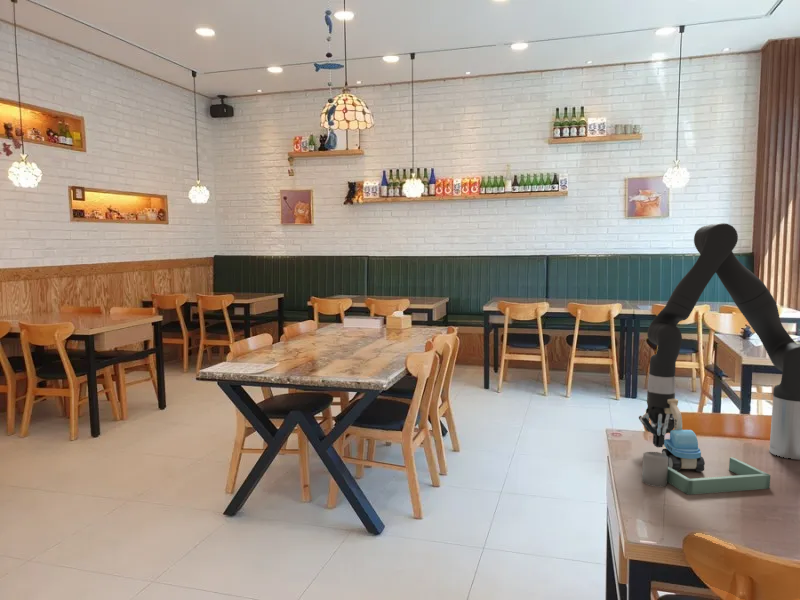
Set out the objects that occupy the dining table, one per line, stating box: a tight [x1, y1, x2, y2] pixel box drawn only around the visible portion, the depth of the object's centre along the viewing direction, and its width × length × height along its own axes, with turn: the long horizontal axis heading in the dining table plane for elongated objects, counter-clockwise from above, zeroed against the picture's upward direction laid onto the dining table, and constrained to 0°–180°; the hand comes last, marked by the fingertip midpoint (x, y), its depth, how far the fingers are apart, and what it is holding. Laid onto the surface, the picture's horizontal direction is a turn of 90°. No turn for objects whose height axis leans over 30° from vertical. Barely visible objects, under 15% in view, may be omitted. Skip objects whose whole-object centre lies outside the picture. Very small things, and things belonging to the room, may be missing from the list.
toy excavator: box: [661, 398, 706, 473], centre depth 166 cm, size 9×17×17 cm, turn 174°
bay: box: [667, 457, 771, 496], centre depth 154 cm, size 23×13×4 cm, turn 101°
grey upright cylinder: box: [641, 451, 669, 488], centre depth 153 cm, size 6×6×7 cm
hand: (658, 446), depth 176 cm, fingers closed
